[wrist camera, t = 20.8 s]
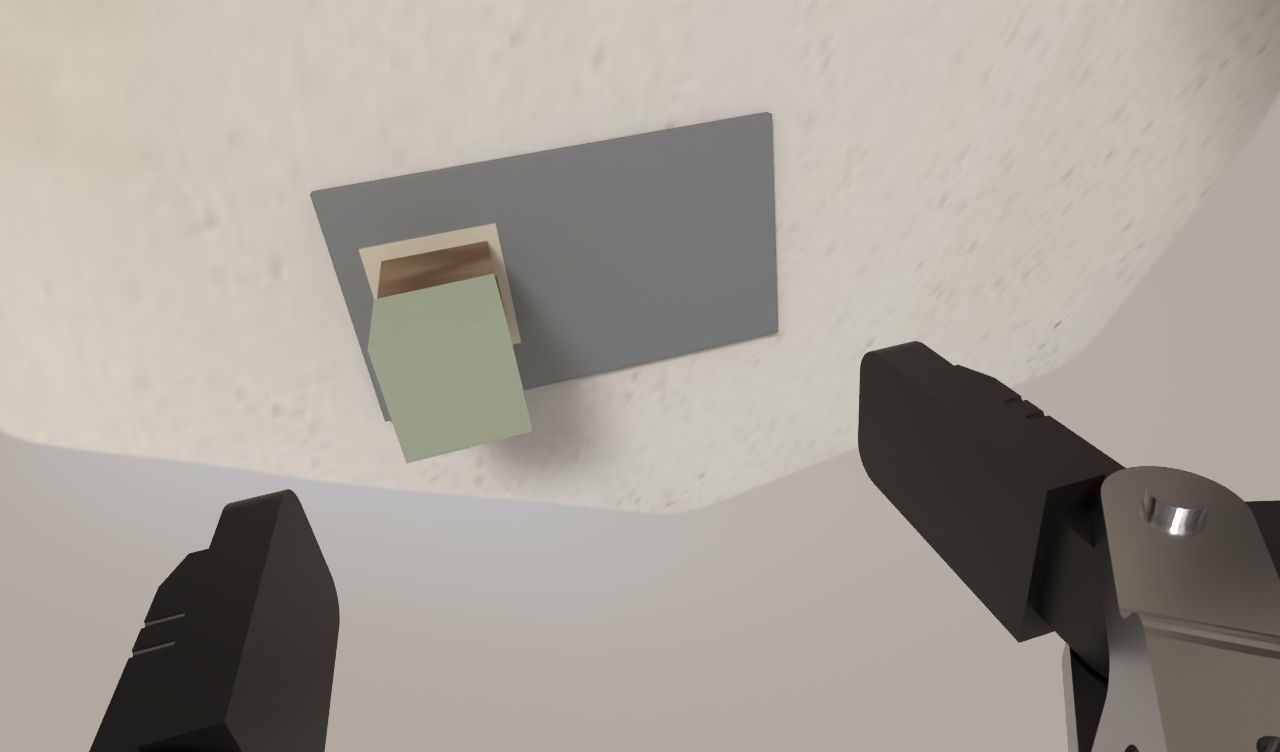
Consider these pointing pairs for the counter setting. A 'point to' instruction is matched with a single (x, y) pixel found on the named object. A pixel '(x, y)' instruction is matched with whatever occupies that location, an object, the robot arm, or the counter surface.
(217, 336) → the counter surface
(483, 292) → the sage block
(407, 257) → the walnut block
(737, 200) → the build mat
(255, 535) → the robot arm
